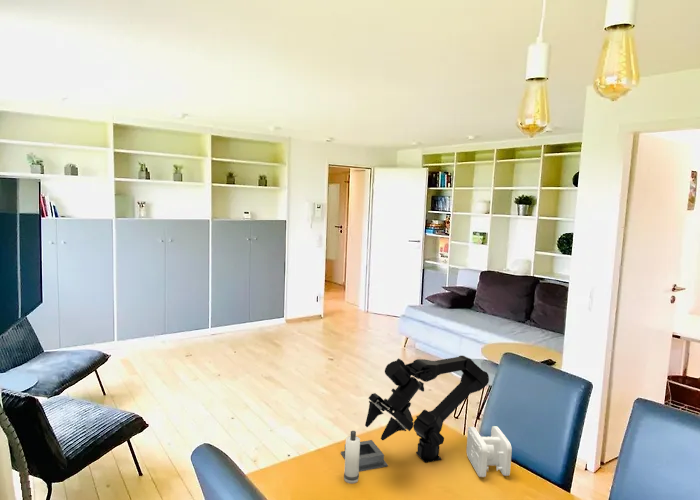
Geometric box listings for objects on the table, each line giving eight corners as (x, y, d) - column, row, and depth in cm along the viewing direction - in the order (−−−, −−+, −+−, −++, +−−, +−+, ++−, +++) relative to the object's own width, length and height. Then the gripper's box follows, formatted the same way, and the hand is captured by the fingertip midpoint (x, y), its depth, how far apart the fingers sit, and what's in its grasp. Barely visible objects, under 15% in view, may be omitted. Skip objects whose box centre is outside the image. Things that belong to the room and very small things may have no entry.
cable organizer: (511, 481, 146) (514, 446, 145) (478, 481, 145) (481, 446, 144) (494, 455, 161) (496, 423, 159) (464, 455, 160) (466, 423, 159)
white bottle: (355, 473, 146) (357, 427, 145) (360, 482, 142) (363, 434, 141) (341, 476, 145) (343, 429, 143) (347, 484, 141) (349, 436, 139)
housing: (372, 447, 162) (373, 438, 162) (387, 466, 151) (388, 455, 151) (340, 453, 158) (341, 443, 158) (353, 472, 147) (354, 461, 147)
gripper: (435, 419, 145) (404, 460, 141) (400, 396, 162) (372, 433, 157) (416, 399, 141) (384, 441, 136) (382, 378, 157) (353, 415, 153)
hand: (373, 432), depth 146 cm, fingers open, 9 cm apart
